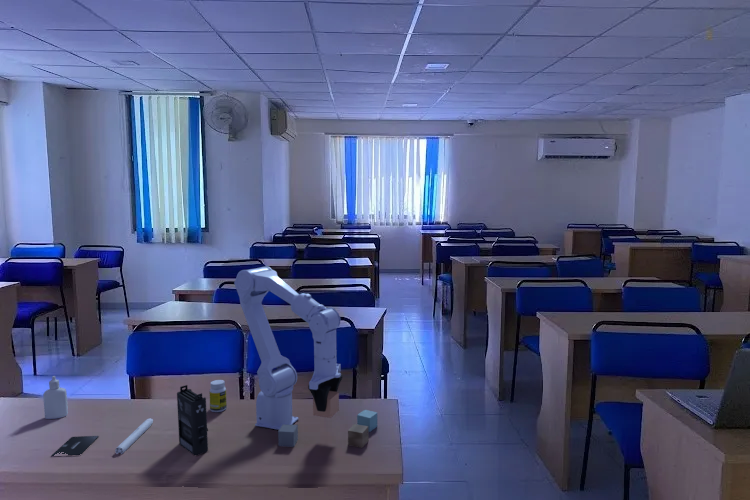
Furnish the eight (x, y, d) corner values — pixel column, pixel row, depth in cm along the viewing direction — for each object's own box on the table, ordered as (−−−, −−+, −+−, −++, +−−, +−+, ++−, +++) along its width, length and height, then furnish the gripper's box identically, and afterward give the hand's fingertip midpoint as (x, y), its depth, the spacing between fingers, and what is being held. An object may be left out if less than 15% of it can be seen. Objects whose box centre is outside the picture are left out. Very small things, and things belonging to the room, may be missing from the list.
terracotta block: (313, 415, 134) (312, 396, 133) (321, 407, 138) (321, 389, 138) (330, 418, 132) (330, 399, 131) (338, 410, 136) (338, 392, 136)
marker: (148, 422, 145) (148, 414, 145) (156, 422, 145) (155, 414, 145) (115, 455, 128) (114, 446, 127) (123, 455, 128) (123, 446, 127)
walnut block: (348, 445, 131) (347, 430, 131) (354, 438, 135) (354, 423, 135) (362, 448, 130) (362, 433, 130) (368, 441, 134) (368, 426, 133)
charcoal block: (278, 446, 131) (278, 431, 131) (283, 438, 135) (282, 424, 135) (293, 447, 131) (293, 432, 130) (297, 439, 135) (297, 425, 134)
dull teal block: (357, 428, 141) (357, 414, 140) (365, 423, 144) (365, 409, 144) (369, 432, 139) (369, 418, 138) (377, 426, 142) (377, 412, 142)
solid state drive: (50, 458, 126) (50, 455, 126) (71, 439, 136) (71, 436, 136) (80, 457, 127) (80, 454, 127) (99, 438, 137) (99, 435, 137)
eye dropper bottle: (53, 412, 152) (50, 373, 150) (71, 413, 151) (68, 374, 150) (42, 419, 147) (38, 378, 146) (59, 420, 147) (56, 379, 145)
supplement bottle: (221, 413, 151) (220, 385, 150) (207, 412, 152) (205, 384, 151) (229, 406, 155) (228, 379, 154) (215, 405, 156) (214, 378, 155)
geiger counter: (214, 450, 129) (211, 392, 127) (196, 457, 126) (194, 398, 124) (194, 437, 136) (192, 382, 134) (177, 443, 133) (175, 386, 131)
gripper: (327, 366, 125) (327, 420, 127) (350, 349, 139) (351, 398, 140) (301, 363, 128) (302, 416, 129) (326, 346, 141) (327, 394, 143)
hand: (326, 406), depth 135 cm, fingers closed on terracotta block, 5 cm apart
